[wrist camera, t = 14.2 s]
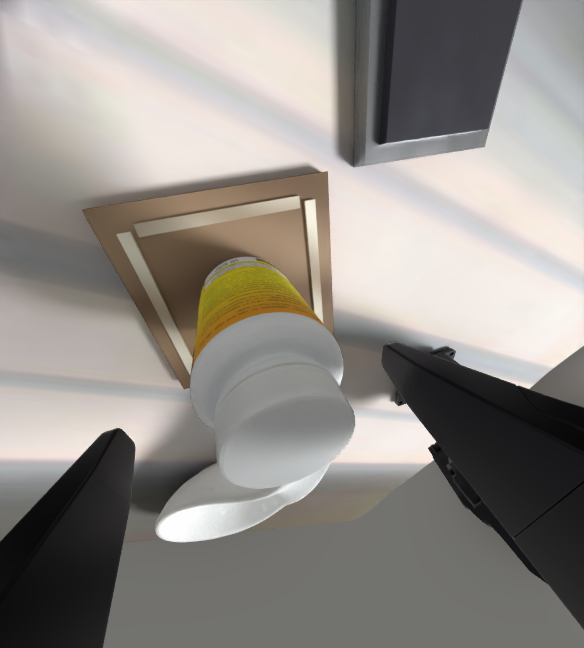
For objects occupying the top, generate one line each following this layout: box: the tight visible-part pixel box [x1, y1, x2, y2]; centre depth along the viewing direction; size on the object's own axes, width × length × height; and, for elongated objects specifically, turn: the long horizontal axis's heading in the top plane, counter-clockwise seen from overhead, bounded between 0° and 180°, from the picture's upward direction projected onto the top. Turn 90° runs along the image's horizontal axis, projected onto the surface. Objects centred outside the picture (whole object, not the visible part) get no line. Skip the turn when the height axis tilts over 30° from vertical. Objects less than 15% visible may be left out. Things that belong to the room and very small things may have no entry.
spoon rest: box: [155, 463, 330, 542], centre depth 21 cm, size 24×12×7 cm, turn 145°
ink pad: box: [354, 0, 523, 167], centre depth 11 cm, size 10×8×2 cm
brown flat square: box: [82, 171, 334, 389], centre depth 15 cm, size 12×12×1 cm
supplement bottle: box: [190, 257, 355, 489], centre depth 10 cm, size 6×6×10 cm
